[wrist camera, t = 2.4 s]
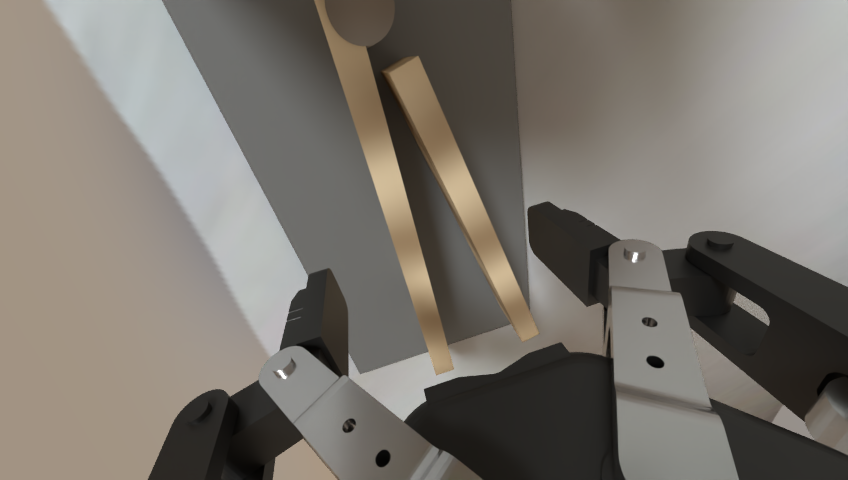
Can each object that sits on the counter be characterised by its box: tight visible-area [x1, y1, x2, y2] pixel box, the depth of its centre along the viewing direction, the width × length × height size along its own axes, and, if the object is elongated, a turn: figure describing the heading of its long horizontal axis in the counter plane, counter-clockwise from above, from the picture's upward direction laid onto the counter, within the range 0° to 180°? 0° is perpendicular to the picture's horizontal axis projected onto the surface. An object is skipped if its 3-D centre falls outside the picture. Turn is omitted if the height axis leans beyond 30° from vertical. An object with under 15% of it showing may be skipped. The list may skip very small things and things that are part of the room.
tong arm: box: [381, 56, 539, 342], centre depth 20 cm, size 20×1×4 cm, turn 29°
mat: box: [162, 0, 530, 374], centre depth 21 cm, size 28×16×1 cm, turn 15°
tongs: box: [314, 0, 454, 375], centre depth 19 cm, size 24×3×4 cm, turn 15°
